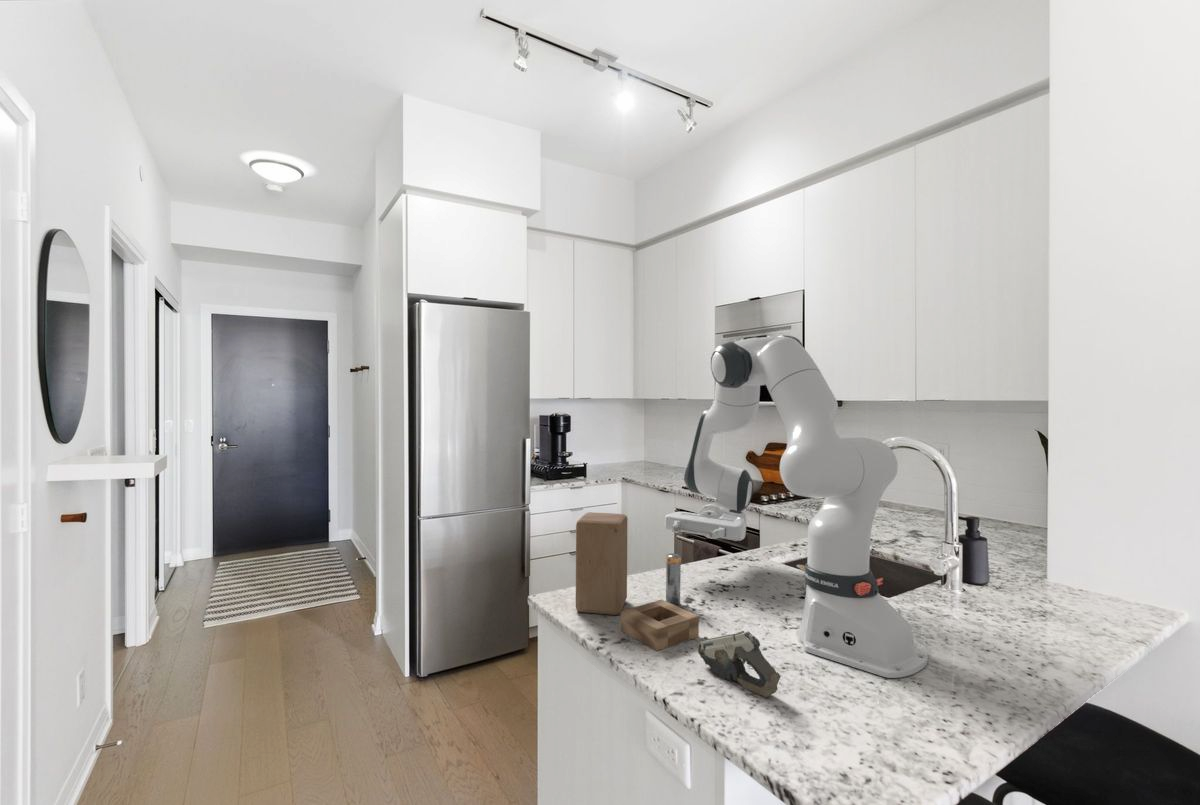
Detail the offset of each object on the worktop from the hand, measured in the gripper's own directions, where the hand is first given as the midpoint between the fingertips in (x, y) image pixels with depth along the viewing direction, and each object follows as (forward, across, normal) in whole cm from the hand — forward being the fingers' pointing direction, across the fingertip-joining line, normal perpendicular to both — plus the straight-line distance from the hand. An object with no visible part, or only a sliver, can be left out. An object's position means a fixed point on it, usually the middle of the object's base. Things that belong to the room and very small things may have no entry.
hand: (692, 532), depth 139 cm
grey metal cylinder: (+11, 0, +14) cm, 18 cm away
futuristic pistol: (+37, +24, +14) cm, 46 cm away
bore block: (+27, +5, +14) cm, 31 cm away
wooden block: (+21, -12, +14) cm, 28 cm away
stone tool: (-23, +28, +14) cm, 39 cm away
